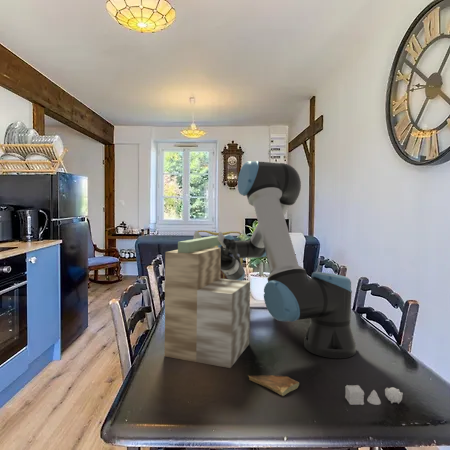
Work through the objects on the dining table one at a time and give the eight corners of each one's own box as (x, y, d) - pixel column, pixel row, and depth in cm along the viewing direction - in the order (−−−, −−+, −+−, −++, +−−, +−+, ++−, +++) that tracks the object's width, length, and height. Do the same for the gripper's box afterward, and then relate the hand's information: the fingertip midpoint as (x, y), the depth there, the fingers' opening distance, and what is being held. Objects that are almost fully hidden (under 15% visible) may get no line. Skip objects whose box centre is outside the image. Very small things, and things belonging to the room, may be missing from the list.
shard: (247, 380, 86) (247, 373, 86) (267, 371, 91) (267, 365, 91) (281, 399, 78) (282, 391, 78) (301, 388, 83) (302, 380, 83)
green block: (212, 244, 122) (212, 235, 122) (220, 244, 121) (220, 236, 121) (177, 252, 97) (177, 241, 97) (188, 253, 96) (188, 242, 96)
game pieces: (350, 406, 75) (350, 392, 75) (344, 398, 79) (345, 384, 79) (404, 406, 76) (405, 392, 75) (397, 398, 79) (397, 384, 79)
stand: (191, 335, 116) (192, 246, 115) (249, 344, 109) (250, 249, 108) (164, 356, 99) (165, 252, 98) (230, 368, 92) (232, 256, 91)
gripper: (251, 272, 127) (235, 247, 108) (199, 268, 134) (176, 244, 115) (254, 254, 130) (239, 225, 111) (203, 251, 137) (181, 224, 118)
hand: (207, 235), depth 113 cm, fingers open, 8 cm apart
